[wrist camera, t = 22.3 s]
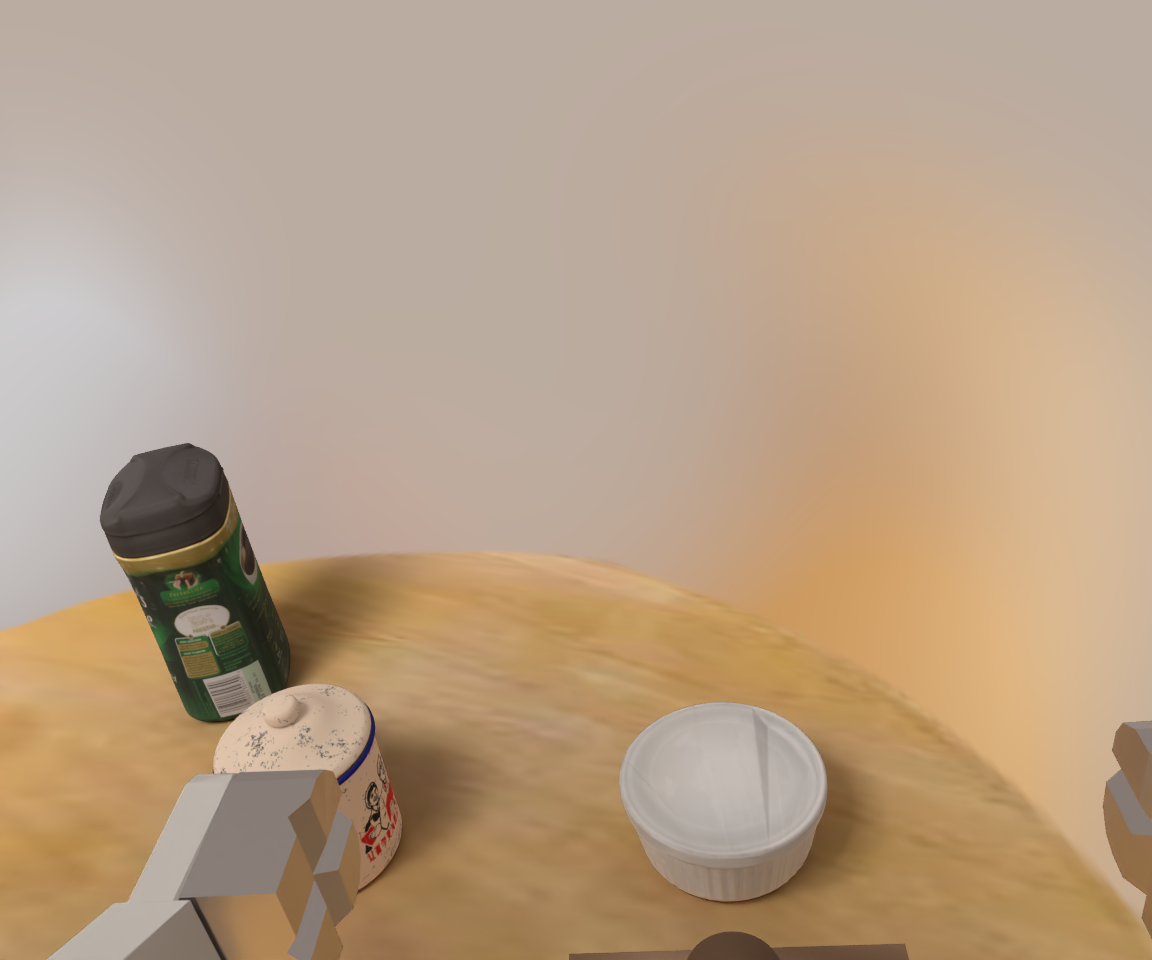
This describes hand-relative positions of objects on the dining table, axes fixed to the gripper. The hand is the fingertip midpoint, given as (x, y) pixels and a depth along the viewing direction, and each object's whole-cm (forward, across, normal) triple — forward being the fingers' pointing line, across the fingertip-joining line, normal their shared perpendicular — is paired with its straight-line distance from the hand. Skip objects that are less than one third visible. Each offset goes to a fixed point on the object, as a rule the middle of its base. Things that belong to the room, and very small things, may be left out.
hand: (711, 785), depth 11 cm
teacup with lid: (+34, +24, +40) cm, 58 cm away
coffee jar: (+48, +35, +40) cm, 72 cm away
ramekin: (+32, 0, +40) cm, 52 cm away
